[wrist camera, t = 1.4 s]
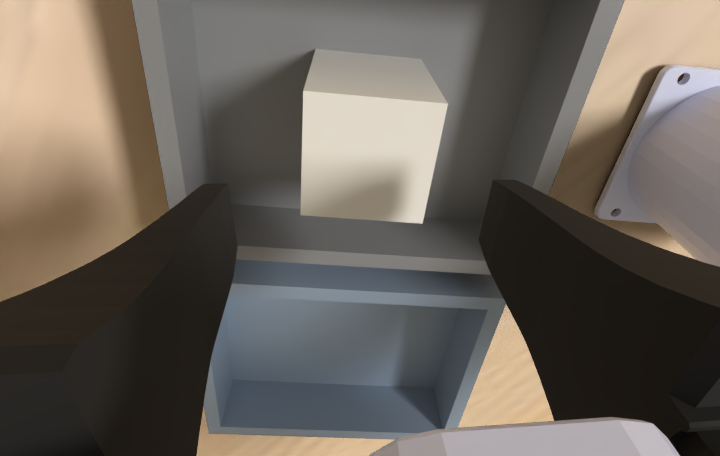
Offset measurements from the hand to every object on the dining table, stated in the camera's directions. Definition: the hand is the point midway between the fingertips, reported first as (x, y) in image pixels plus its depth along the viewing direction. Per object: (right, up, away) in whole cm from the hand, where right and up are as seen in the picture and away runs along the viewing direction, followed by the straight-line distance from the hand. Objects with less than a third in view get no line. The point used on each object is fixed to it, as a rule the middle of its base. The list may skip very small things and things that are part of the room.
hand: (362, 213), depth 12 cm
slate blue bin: (-1, -7, +16) cm, 17 cm away
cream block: (0, +5, +8) cm, 9 cm away
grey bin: (0, +5, +8) cm, 10 cm away
